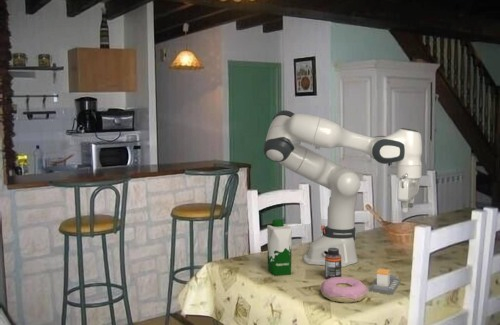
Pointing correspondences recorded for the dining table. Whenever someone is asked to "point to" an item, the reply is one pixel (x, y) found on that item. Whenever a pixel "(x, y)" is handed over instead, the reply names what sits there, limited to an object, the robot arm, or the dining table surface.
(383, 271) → the fader knob
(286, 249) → the milk carton
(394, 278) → the console
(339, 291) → the donut
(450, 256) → the dining table surface
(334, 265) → the supplement bottle
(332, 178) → the robot arm
